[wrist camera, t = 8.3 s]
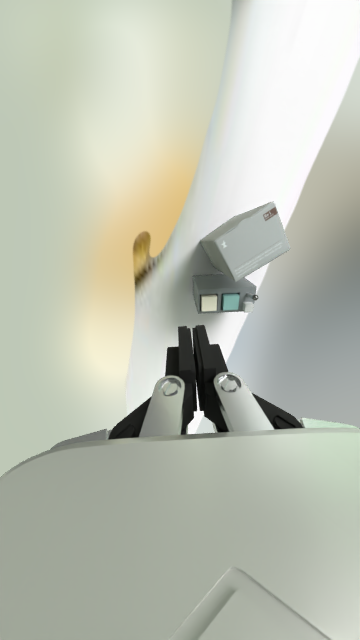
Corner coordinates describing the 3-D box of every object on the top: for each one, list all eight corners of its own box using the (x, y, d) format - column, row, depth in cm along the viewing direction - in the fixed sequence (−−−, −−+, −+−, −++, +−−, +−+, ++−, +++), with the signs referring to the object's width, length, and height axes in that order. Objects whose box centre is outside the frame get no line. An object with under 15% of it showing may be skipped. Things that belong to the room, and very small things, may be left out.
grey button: (243, 302, 32) (245, 305, 31) (250, 301, 32) (253, 304, 31) (242, 309, 33) (244, 312, 32) (250, 308, 33) (252, 312, 32)
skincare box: (213, 267, 39) (234, 289, 25) (197, 236, 37) (210, 242, 23) (250, 244, 38) (295, 254, 23) (235, 210, 35) (276, 198, 21)
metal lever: (245, 291, 32) (253, 295, 28) (250, 291, 32) (259, 295, 28) (245, 296, 32) (253, 301, 29) (250, 296, 32) (259, 300, 29)
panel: (193, 275, 40) (197, 289, 31) (238, 273, 40) (256, 286, 31) (193, 295, 42) (198, 313, 33) (236, 293, 42) (253, 310, 33)
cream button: (199, 291, 34) (201, 297, 31) (213, 290, 34) (217, 296, 31) (199, 304, 35) (201, 311, 32) (213, 303, 35) (216, 310, 32)
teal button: (220, 290, 34) (224, 296, 31) (234, 289, 34) (239, 295, 31) (219, 303, 35) (223, 310, 32) (233, 302, 35) (238, 309, 32)
